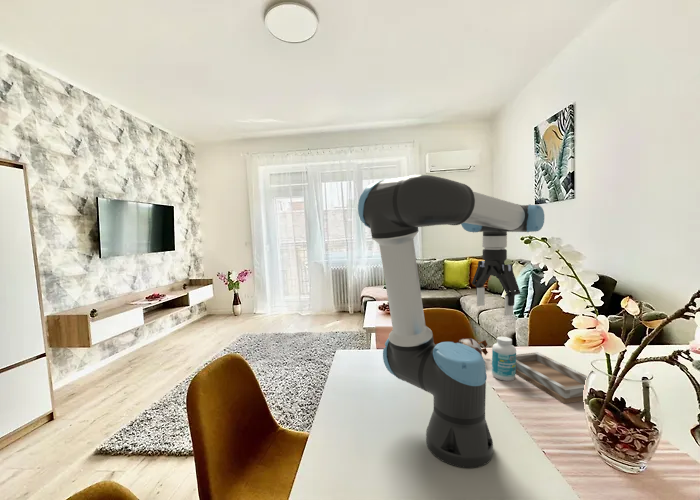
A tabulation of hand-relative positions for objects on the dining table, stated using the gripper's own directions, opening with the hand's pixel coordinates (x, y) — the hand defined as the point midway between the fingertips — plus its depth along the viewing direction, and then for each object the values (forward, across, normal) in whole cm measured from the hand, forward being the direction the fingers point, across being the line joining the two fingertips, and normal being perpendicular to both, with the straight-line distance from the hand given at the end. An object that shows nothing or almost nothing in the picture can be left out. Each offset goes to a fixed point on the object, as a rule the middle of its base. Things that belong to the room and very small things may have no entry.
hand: (493, 310), depth 111 cm
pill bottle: (+24, -2, -3) cm, 24 cm away
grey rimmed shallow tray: (+23, -9, -15) cm, 29 cm away
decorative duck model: (+24, +15, 0) cm, 28 cm away
